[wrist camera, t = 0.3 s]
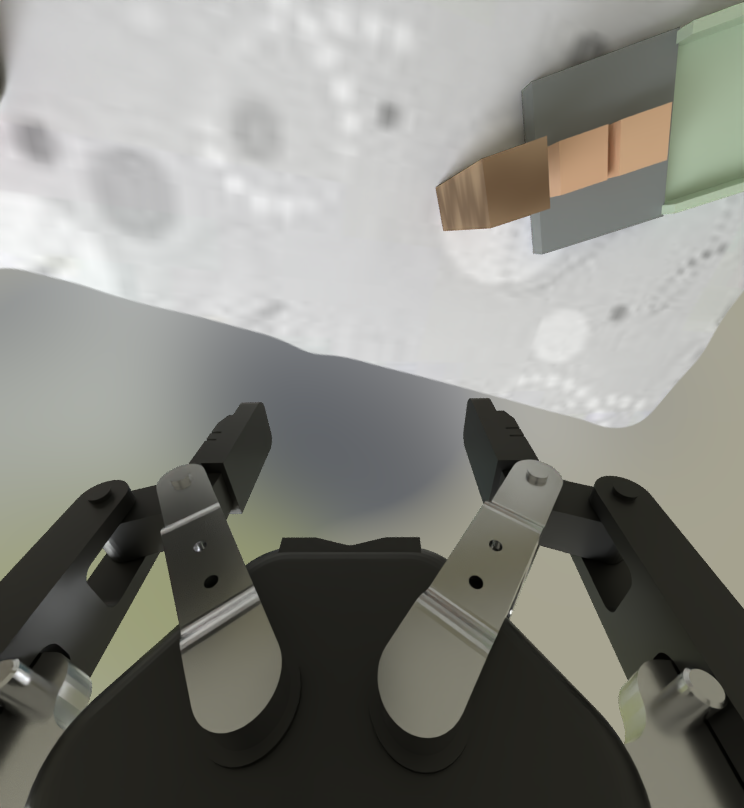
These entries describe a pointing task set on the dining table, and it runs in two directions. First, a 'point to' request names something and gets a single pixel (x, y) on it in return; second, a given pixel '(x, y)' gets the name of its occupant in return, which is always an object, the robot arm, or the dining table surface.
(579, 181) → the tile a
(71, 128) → the dining table surface
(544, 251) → the plate
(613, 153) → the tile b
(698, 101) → the tray
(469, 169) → the tall wooden post
